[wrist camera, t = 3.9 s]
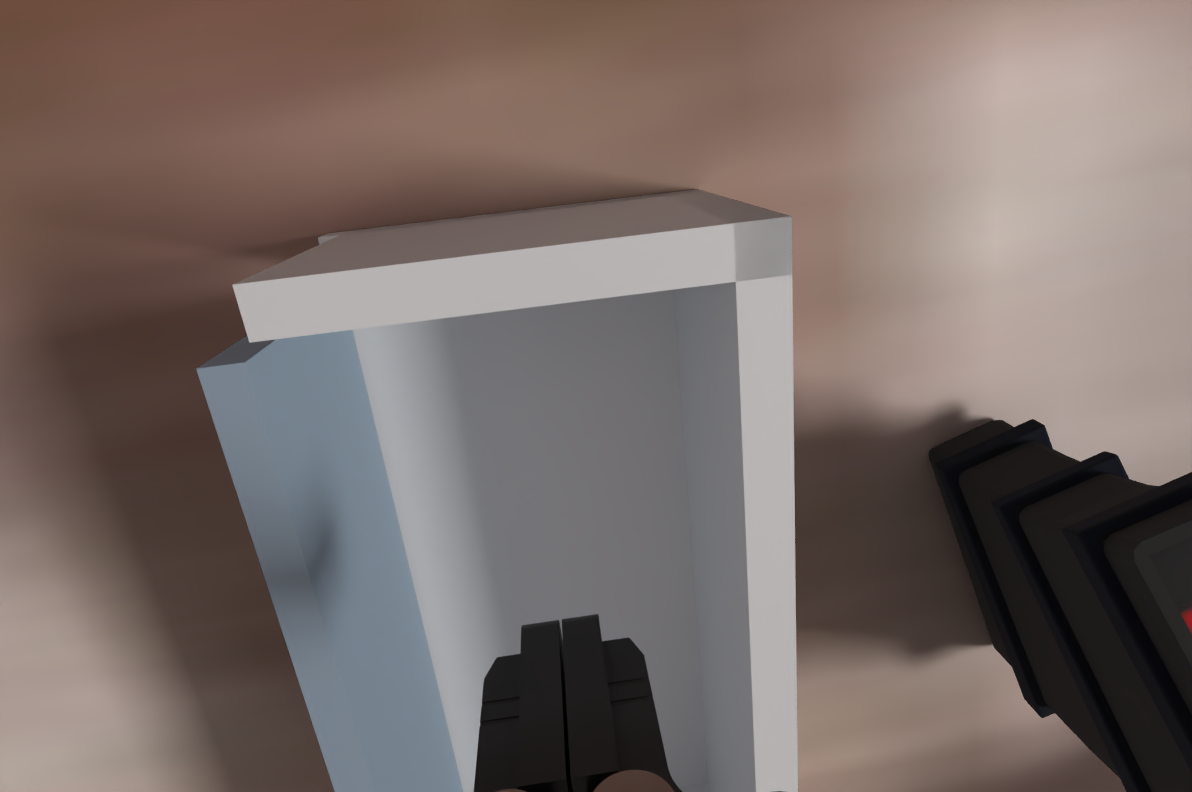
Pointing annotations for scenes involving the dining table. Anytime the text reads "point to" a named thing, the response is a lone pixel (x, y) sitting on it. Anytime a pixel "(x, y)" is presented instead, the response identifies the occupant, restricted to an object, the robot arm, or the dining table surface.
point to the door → (333, 556)
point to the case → (586, 447)
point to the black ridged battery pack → (1082, 591)
